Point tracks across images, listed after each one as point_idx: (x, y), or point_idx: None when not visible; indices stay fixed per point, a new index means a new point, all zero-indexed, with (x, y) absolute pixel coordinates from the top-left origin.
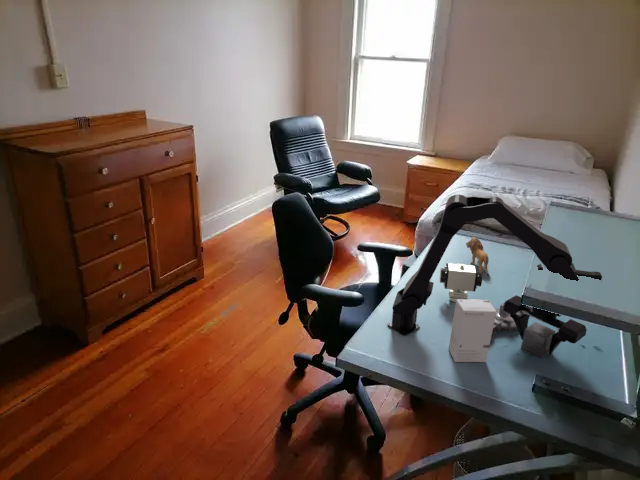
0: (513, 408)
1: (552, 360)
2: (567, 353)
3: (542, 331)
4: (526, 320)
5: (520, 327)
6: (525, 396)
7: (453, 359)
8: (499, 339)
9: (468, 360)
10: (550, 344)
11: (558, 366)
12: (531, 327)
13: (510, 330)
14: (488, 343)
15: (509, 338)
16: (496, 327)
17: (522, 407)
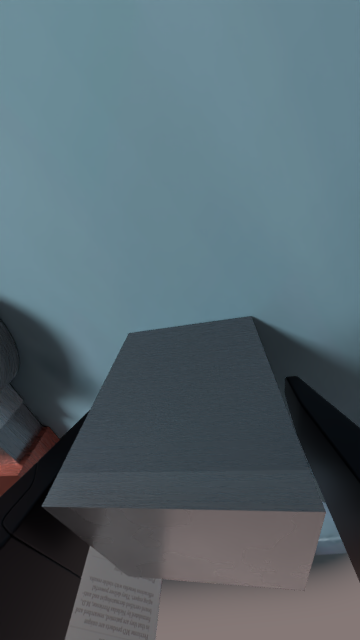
0: (324, 543)
1: (304, 370)
2: (348, 234)
3: (222, 557)
4: (23, 571)
5: (88, 544)
6: (326, 520)
7: None
8: (74, 421)
9: None
10: (334, 516)
11: (351, 383)
12: (126, 557)
13: (14, 357)
14: (156, 612)
15: (76, 392)
16: (3, 433)
17: (339, 537)
